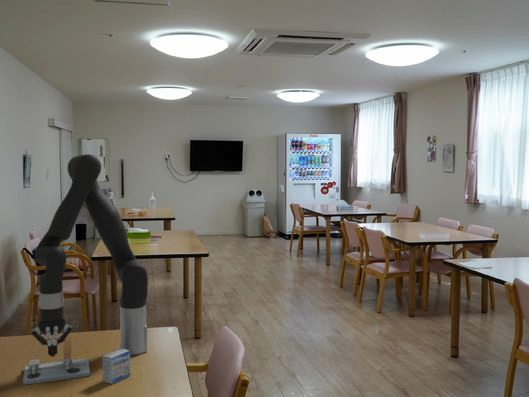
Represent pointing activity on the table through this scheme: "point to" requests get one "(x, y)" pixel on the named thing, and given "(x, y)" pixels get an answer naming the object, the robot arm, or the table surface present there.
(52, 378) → the bolt plate
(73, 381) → the table surface
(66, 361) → the sliding leg
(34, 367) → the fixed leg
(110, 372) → the medicine box
